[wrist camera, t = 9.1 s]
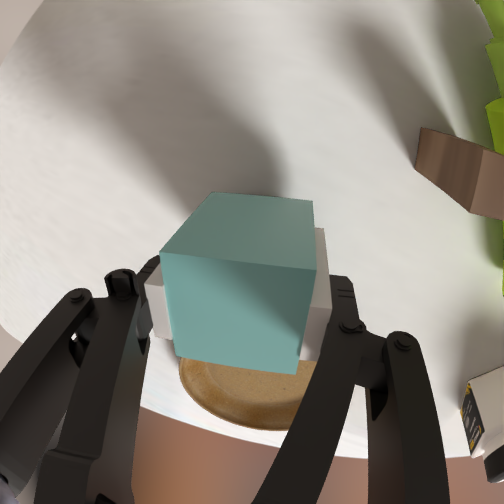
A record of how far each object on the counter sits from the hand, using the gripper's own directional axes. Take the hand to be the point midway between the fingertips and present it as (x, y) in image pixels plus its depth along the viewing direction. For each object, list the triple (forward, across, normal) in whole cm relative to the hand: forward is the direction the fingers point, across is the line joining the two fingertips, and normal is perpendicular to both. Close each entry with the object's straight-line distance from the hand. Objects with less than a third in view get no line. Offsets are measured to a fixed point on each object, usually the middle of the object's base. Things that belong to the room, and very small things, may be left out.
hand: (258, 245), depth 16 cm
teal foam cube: (0, 0, 0) cm, 0 cm away
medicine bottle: (+3, -27, +16) cm, 32 cm away
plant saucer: (+3, -1, +14) cm, 14 cm away
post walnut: (+3, -10, -6) cm, 12 cm away
